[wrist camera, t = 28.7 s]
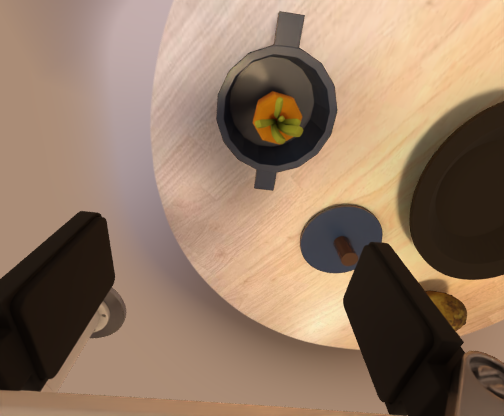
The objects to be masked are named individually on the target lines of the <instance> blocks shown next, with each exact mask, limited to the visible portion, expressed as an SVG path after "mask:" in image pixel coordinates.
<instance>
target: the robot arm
mask: <svg viewBox="0 0 504 416" xmlns="http://www.w3.org/2000/svg"><path fill="white" fill-rule="evenodd" d="M114 280H115V273H114V267H113V260H112V254H111V247H110V240H109V234H108V228H107V221H106V219H105V218H103V217H102V216H101V214H99V213H95V212H85V211H80V212H79V213H77V214H76V215H75V216H74V217H73V218H71V219H70V220H69V221H68V222H67V223H65V225H63V226H62V227H61V228H60V229H59V230H57V231H56V232H55V233H54V234H53V235H52V236H50V237H49V238H48V239H47V240H46V241H45V242H43V243H42V244H41V245H40V246H39V247H38V248H36V249H35V250H34V251H33V252H32V253H30V254H29V255H28V256H27V257H26V258H24V259H23V260H22V261H21V262H20V263H19V264H17V265H16V266H15V267H14V268H13V269H12V270H10V271H9V272H8V273H7V274H6V275H5V276H3V277H2V278H1V279H0V416H400V415H403V416H407V415H408V416H504V363H503V362H501V361H500V360H498V359H497V358H495V357H493V356H491V355H488V354H486V353H483V352H479V351H468V352H467V353H465V352H464V351H463V349H462V348H461V345H462V344H463V343H464V342H463V341H462V339H461V338H460V337H459V335H458V334H457V333H456V331H455V330H454V329H453V327H452V326H451V325H450V323H449V322H448V321H447V320H446V318H445V317H444V316H443V314H442V313H441V312H440V310H439V309H438V308H437V306H436V305H435V304H434V303H433V301H432V300H431V299H430V297H429V296H428V295H427V293H426V292H425V291H424V289H423V288H422V287H421V285H420V284H419V283H418V282H417V280H416V279H415V278H414V276H413V275H412V274H411V272H410V271H409V270H408V268H407V267H406V266H405V265H404V263H403V262H402V261H401V259H400V258H399V257H398V255H397V254H396V253H395V251H394V250H393V249H392V247H391V246H390V245H389V244H387V243H380V242H370V243H369V244H368V245H365V246H364V248H363V250H362V252H361V255H360V257H359V260H358V262H357V265H356V267H355V270H354V272H353V275H352V277H351V280H350V282H349V285H348V287H347V290H346V293H345V295H344V298H343V304H344V308H345V311H346V313H347V316H348V319H349V321H350V324H351V326H352V329H353V332H354V334H355V337H356V340H357V342H358V345H359V347H360V350H361V352H362V355H363V358H364V360H365V363H366V365H367V368H368V371H369V374H370V376H371V379H372V382H373V384H374V387H375V389H376V392H377V395H378V397H379V399H380V400H381V401H382V402H385V404H386V407H387V409H388V412H389V414H377V413H363V412H348V411H335V410H321V409H307V408H293V407H278V406H264V405H248V404H233V403H218V402H201V401H188V400H172V399H156V398H138V397H122V396H106V395H90V394H89V395H88V394H72V393H57V392H58V390H59V388H60V387H61V385H62V383H63V382H64V380H65V378H66V377H67V375H68V373H69V372H70V370H71V368H72V367H73V365H74V363H75V361H76V360H77V358H78V356H79V355H80V353H81V351H82V350H83V348H84V346H85V344H86V343H87V341H88V340H89V338H90V336H91V335H92V333H93V332H97V331H99V330H101V329H103V328H104V327H105V326H106V324H107V323H108V321H109V318H110V311H109V309H108V306H107V305H106V303H105V302H104V301H103V300H104V299H105V297H106V296H107V294H108V292H109V291H110V289H111V288H112V286H113V284H114Z"/></svg>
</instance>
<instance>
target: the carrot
mask: <svg viewBox="0 0 504 416" xmlns="http://www.w3.org/2000/svg"><path fill="white" fill-rule="evenodd" d="M301 120H302V114H301V112H300V110H299V108H298V106H297V104H296V102H295V100H294V98H293V97H291V96H288V95H284V94H281V93H278V92H274V91H272V92H270V93H268V94H267V95H265V96H264V97H262V98H260V99H259V100H258V102H257V106H256V110H255V114H254V118H253V125H254V126H255V128H256V130H257V132H258V133H259V135H260V137H261V139H262V140H264V141H268V142H272V143H276V144H279V145H280V144H284V143H285V141H287V140H289V139H291V138H292V137H300V136H301V135H302V133H303V128H302V127H300V126H299V125H300V123H301Z"/></svg>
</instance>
